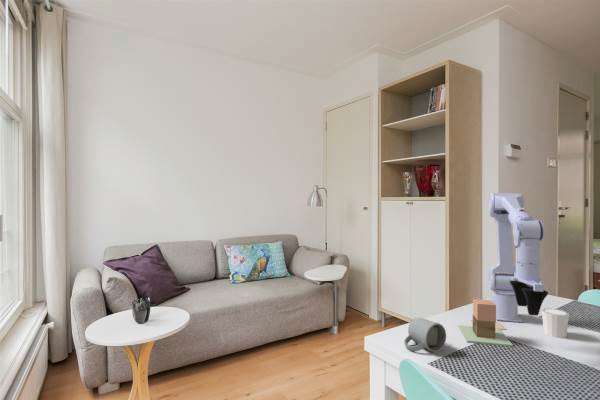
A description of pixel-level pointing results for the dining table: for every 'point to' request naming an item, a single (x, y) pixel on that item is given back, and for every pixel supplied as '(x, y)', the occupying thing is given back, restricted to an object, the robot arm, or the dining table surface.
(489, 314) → the terracotta block
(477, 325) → the walnut block
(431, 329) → the ceramic mug
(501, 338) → the plate
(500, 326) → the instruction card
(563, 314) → the white cup
